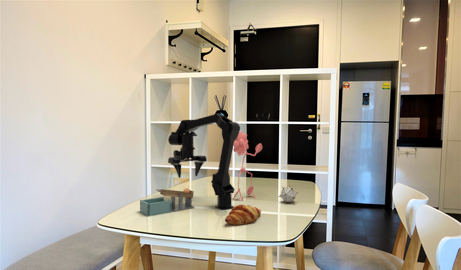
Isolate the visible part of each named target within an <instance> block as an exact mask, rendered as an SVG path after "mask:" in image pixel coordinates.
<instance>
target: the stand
mask: <svg viewBox="0 0 461 270" xmlns="http://www.w3.org/2000/svg"><path fill="white" fill-rule="evenodd" d="M183 199H185V201H184V200H183ZM170 200H171V201H172V212H173V213H174V212H180V211H185V210H192V209H195V208H196V207H195V206H194V205H193V204H192V203H193V198H183V194H179V197H178V203H176V197H171V196H170ZM183 201H184V202H183ZM172 212H171V213H172Z"/></svg>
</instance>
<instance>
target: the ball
mask: <svg viewBox="0 0 461 270" xmlns="http://www.w3.org/2000/svg"><path fill="white" fill-rule="evenodd" d="M182 191H183V193H190V188H187V187H186V188H184V189H183V190H182Z"/></svg>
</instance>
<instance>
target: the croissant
mask: <svg viewBox="0 0 461 270" xmlns="http://www.w3.org/2000/svg"><path fill="white" fill-rule="evenodd" d="M261 213H262V210H261V208H258V207H256V206H252V205H248V204H247V205H246V204H238V205H237V204H236V205H235V206H234V208H231V210H230V212H229V213H228V215H226V217H225V219H224V221H225V223H226V224H228V225H234V226H238V225H239V226H240V225H246V224H249V223H253V222H255V221H256V220H257V219H258V217H259V216H260V215H261Z"/></svg>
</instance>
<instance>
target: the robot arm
mask: <svg viewBox="0 0 461 270" xmlns="http://www.w3.org/2000/svg"><path fill="white" fill-rule="evenodd" d="M213 124H216V125H217V127H218V128H219V129H221V137H222V141H223V142H222V147H221V152H220V153H221V154H220V157H219V164H218V169H217V172H216V173H213V174H212V179H211V181H210V183H211V187H212V189H213V191H214V195H215V196H217V204H216V205H214V207H215V208H216V209H220V210H222V211H223V210H229V209H232V208H234V207H235V206H234V205H232V194H235V190H236V189H235V187H234V186H233V185H232V183H231V177H230V173H229V172H230V165H231V161H232V154H233V151H234V150H233V149H234V146H233V144H234V141H235V140H236V138H237V137H238V134H239V133H240V132H241V131H240V130H241V126H240V125H239V123H238V122H236V121H233V120H232V119H230V118H228V117H226V116H225V115H224V114H222V113H213V114H210V115H208V116H203V117H200V118H196V119H183V120H181V121H180V123H179V125H178V127H177V129H176V130H175V131H171V133H170V135H169V136H168V143H169V145H171V146H181V147H180V150H177V149H175V150H173V155H172V156H171V157H168V159H167V161H168V162H167V163H168V164H170V165H171V166H173V167H174V168H175V171H176V173H177V177H178V178H179V179H181V178H182V163H181V162H183V163H184V162H194V176H195V177H198V174H199V172H200V171H201V168H202V166H203V165H204V164H205V162H207V160H208V159H207V156H206V155H194V150H196V148H195V147H194V137H197V136H198V134H197V133H196V132H195V131H197V130H198V129H199V128H202V127H206V126H210V125H213Z"/></svg>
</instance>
